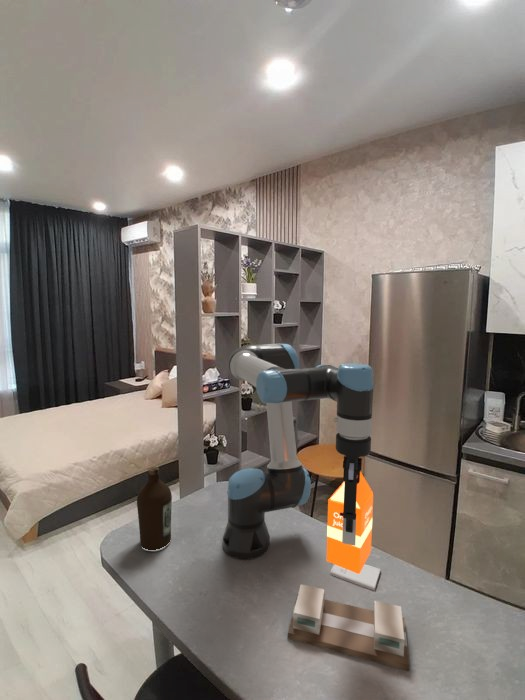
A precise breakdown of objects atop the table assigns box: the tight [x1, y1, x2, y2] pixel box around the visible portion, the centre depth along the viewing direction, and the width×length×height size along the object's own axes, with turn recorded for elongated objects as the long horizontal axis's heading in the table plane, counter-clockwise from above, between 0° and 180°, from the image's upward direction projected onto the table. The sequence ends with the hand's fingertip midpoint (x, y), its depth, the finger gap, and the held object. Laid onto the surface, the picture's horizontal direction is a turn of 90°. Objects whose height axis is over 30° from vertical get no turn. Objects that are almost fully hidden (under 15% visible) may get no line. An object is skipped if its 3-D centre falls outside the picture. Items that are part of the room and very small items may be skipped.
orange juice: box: [326, 470, 374, 574], centre depth 82 cm, size 8×9×20 cm
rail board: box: [287, 584, 410, 671], centre depth 85 cm, size 26×12×6 cm, turn 74°
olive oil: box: [136, 466, 173, 550], centre depth 115 cm, size 11×11×25 cm
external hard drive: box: [329, 563, 382, 592], centre depth 104 cm, size 2×8×12 cm
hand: (350, 528), depth 82 cm, fingers closed on orange juice, 10 cm apart
